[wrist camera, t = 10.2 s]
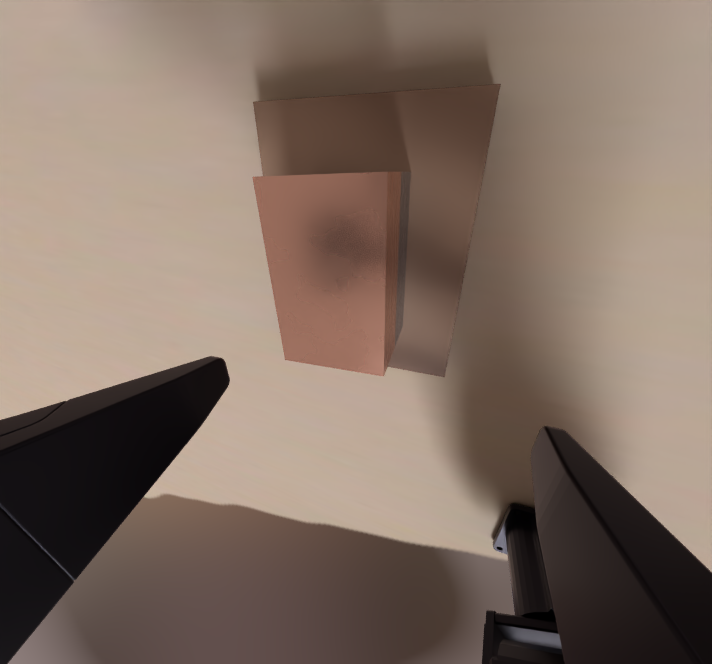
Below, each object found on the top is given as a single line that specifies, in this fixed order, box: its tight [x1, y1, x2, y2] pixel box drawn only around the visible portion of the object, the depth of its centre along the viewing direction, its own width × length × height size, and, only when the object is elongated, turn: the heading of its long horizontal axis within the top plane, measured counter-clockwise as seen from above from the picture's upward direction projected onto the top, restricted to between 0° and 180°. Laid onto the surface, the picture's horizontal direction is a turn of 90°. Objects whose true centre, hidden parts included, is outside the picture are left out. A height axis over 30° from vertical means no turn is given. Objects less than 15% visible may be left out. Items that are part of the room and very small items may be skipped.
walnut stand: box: [253, 84, 500, 377], centre depth 16 cm, size 14×11×2 cm
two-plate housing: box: [253, 172, 411, 376], centre depth 14 cm, size 5×8×5 cm, turn 2°
